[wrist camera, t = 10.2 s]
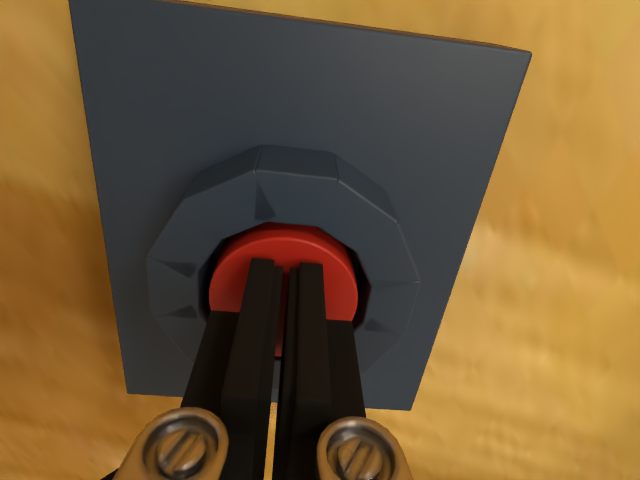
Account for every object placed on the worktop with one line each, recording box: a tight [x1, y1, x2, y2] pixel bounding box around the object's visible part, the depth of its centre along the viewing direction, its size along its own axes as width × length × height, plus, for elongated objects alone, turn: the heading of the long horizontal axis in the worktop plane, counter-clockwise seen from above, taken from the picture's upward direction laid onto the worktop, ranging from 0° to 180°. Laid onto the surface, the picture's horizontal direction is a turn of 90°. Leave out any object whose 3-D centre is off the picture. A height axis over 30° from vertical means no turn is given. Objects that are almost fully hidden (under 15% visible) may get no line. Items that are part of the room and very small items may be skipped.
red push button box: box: [68, 0, 532, 411], centre depth 12 cm, size 12×10×4 cm
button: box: [209, 222, 358, 356], centre depth 11 cm, size 4×4×2 cm
